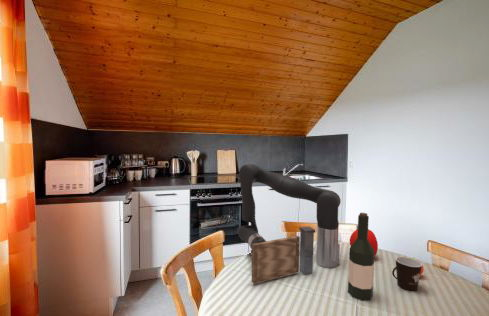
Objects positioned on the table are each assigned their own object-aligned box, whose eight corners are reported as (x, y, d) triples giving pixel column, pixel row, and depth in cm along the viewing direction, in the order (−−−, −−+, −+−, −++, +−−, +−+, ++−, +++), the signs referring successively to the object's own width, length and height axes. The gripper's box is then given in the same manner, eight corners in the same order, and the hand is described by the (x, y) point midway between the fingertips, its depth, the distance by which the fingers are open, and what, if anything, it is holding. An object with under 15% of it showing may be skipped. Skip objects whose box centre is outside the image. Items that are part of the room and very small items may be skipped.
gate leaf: (296, 270, 107) (297, 235, 106) (298, 272, 105) (299, 237, 104) (251, 281, 97) (252, 243, 96) (253, 283, 96) (254, 245, 95)
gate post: (307, 268, 110) (309, 226, 109) (313, 274, 106) (315, 230, 104) (298, 270, 109) (299, 227, 108) (303, 275, 104) (304, 230, 103)
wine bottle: (362, 303, 86) (366, 218, 85) (342, 290, 94) (346, 211, 92) (377, 297, 90) (381, 215, 89) (358, 285, 98) (361, 209, 96)
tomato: (380, 257, 123) (382, 228, 122) (372, 264, 115) (373, 234, 114) (354, 249, 132) (355, 222, 131) (345, 255, 124) (346, 227, 123)
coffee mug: (412, 281, 101) (413, 257, 101) (425, 294, 93) (427, 267, 92) (382, 279, 102) (383, 255, 102) (392, 291, 94) (394, 265, 93)
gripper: (244, 237, 115) (256, 253, 99) (271, 235, 119) (287, 250, 102) (244, 253, 116) (256, 272, 99) (271, 250, 119) (286, 268, 103)
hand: (271, 261), depth 101 cm, fingers closed
